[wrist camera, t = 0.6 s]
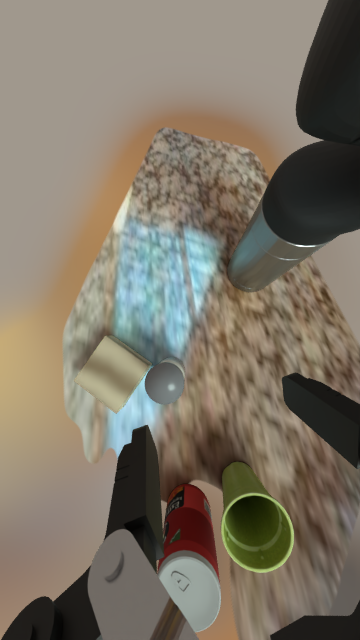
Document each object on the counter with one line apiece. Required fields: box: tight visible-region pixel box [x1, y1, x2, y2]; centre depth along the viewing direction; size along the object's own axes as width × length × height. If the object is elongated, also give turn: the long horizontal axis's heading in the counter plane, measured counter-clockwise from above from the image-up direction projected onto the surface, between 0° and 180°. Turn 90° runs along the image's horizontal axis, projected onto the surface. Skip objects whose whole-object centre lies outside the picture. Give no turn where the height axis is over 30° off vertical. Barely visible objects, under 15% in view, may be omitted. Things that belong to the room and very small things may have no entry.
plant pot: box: [221, 462, 294, 573], centre depth 27 cm, size 9×9×9 cm
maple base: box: [74, 335, 152, 414], centre depth 33 cm, size 10×10×4 cm
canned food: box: [157, 484, 221, 632], centre depth 26 cm, size 8×8×11 cm
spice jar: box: [145, 357, 185, 404], centre depth 29 cm, size 6×6×10 cm
